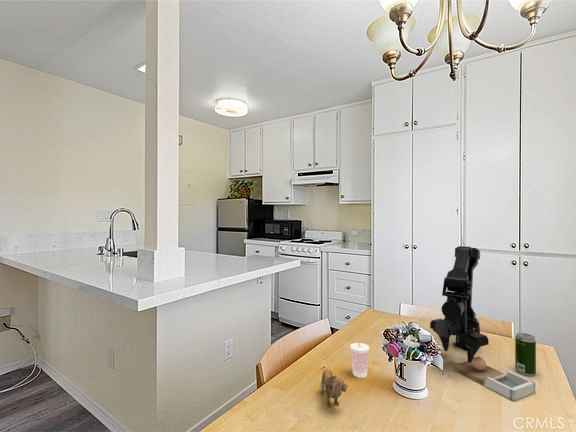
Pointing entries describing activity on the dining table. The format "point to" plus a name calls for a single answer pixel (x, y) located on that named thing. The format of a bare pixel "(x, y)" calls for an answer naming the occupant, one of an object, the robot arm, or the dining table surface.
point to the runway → (479, 373)
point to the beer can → (525, 354)
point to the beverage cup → (359, 358)
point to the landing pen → (512, 386)
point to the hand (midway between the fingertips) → (457, 356)
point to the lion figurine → (332, 386)
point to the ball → (478, 363)
